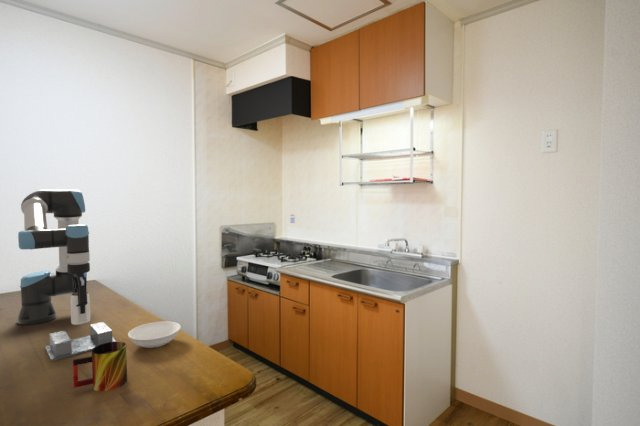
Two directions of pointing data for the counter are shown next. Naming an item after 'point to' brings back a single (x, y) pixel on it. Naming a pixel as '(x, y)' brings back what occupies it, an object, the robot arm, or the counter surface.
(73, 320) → the can
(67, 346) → the gray metal fixture
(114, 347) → the mug
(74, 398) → the counter surface
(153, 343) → the bowl
